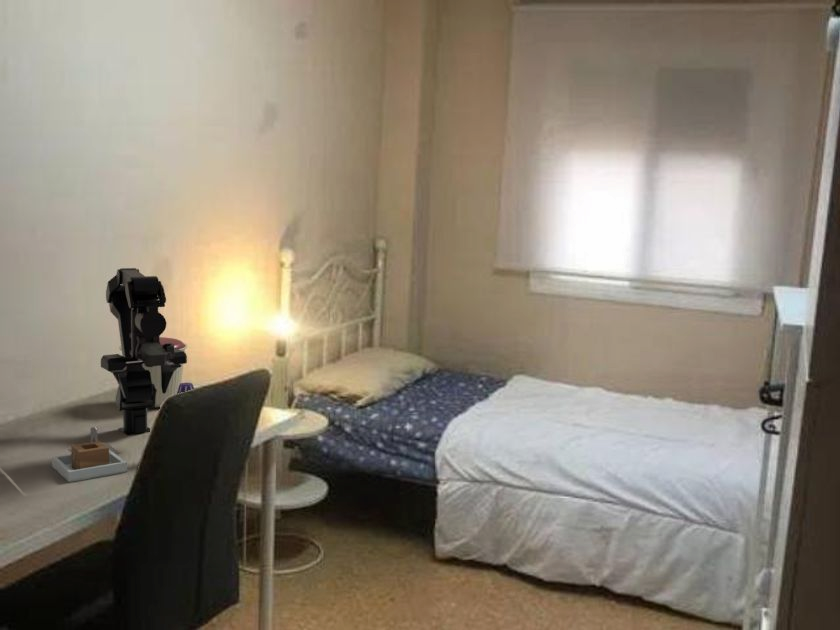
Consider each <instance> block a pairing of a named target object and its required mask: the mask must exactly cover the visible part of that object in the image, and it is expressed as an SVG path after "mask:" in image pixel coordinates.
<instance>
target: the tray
mask: <svg viewBox="0 0 840 630" xmlns="http://www.w3.org/2000/svg"><path fill="white" fill-rule="evenodd" d="M127 462H128V461H126V460H124V459H123V458H122V457H120V456H119V455H118V454H115V453H113V452H112V451H111V450H109V464H107V465H101V466H95V467H89V468H83V469H77V470H74V469H73V468H72V456H71V453H68V454H63V455H57V456H56V455H54V456H51V467H52V468H53V469H54V470H55V471H56V473H58V474H59V475H60V476H62V477H63V478H64V479H65V480H66V481H67V482H68V483H72V482H78V481H83V480H89V479H95V478H101V477H107V476H111V475H112V476H113V475H118V474H124V473H128V463H127Z"/></svg>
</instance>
